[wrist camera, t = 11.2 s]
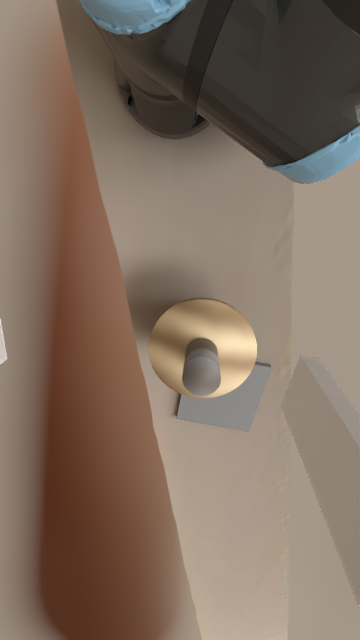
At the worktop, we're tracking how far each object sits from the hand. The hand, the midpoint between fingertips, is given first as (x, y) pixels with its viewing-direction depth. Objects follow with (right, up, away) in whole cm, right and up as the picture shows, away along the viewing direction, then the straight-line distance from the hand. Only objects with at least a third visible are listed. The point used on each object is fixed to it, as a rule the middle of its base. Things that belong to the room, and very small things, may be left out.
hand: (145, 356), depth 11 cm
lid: (+5, -3, +25) cm, 26 cm away
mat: (+10, -13, +43) cm, 46 cm away
